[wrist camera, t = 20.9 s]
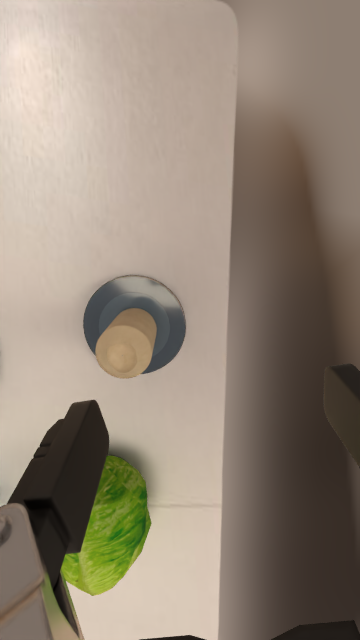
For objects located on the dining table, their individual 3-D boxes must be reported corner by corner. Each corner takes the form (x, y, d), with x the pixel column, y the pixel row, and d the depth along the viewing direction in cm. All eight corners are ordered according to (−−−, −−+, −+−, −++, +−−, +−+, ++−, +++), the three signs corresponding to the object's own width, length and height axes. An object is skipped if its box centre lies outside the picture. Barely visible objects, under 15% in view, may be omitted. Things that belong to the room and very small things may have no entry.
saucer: (186, 275, 36) (186, 276, 35) (184, 370, 39) (184, 375, 38) (82, 274, 36) (78, 275, 35) (89, 370, 39) (86, 375, 38)
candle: (104, 325, 36) (78, 354, 26) (137, 298, 35) (123, 317, 26) (132, 357, 37) (118, 396, 28) (165, 331, 37) (162, 362, 27)
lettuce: (60, 540, 46) (22, 638, 35) (65, 432, 41) (22, 504, 30) (145, 548, 47) (136, 646, 35) (160, 442, 42) (155, 517, 31)
